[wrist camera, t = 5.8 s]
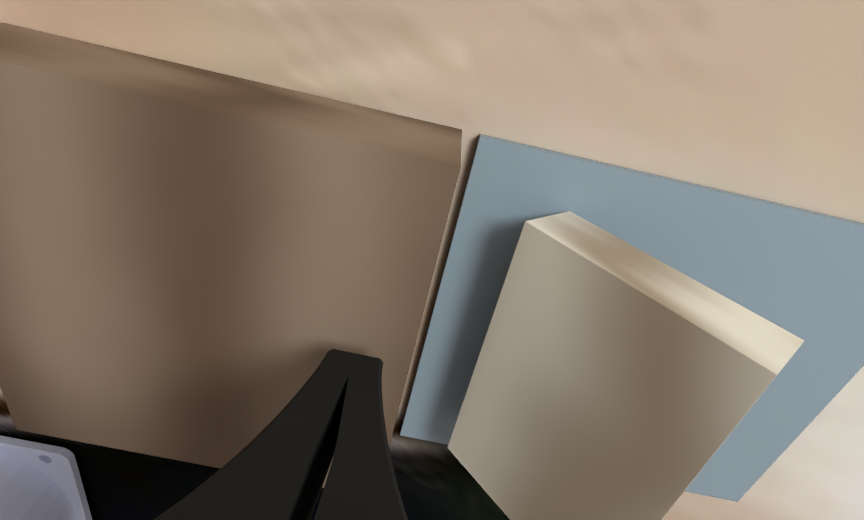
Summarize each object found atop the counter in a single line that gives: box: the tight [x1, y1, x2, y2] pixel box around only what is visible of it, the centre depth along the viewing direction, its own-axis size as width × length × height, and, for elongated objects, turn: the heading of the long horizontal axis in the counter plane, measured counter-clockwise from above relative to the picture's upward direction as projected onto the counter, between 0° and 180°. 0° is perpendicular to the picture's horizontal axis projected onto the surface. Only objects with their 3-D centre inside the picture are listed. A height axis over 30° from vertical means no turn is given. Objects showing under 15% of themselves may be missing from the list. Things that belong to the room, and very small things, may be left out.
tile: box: [447, 211, 804, 520], centre depth 13 cm, size 6×9×2 cm
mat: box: [400, 134, 864, 502], centre depth 16 cm, size 14×12×1 cm
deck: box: [0, 23, 462, 488], centre depth 14 cm, size 12×12×3 cm
